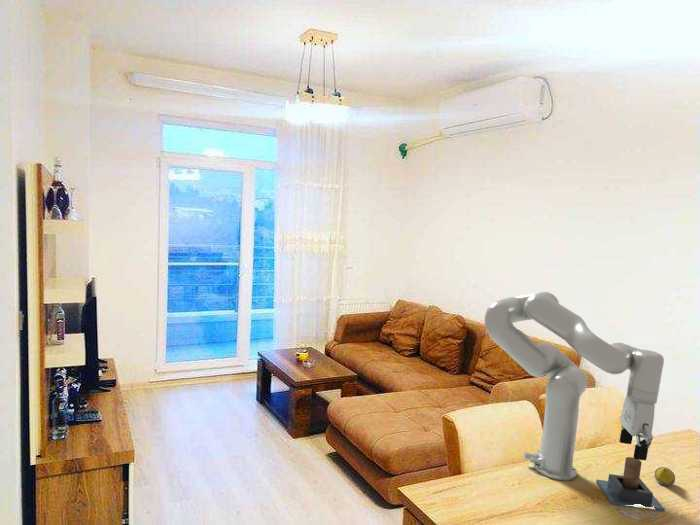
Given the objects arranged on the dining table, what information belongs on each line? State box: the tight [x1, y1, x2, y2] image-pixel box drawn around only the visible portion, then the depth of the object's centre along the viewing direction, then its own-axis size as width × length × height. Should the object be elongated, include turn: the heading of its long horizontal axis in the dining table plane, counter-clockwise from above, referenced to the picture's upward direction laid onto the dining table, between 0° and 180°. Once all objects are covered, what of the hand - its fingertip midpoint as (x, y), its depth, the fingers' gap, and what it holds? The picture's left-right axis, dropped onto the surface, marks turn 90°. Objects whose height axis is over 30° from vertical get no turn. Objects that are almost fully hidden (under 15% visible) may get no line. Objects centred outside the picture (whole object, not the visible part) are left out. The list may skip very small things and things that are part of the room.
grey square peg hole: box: [595, 473, 665, 512], centre depth 146 cm, size 14×12×4 cm
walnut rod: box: [622, 456, 642, 489], centre depth 146 cm, size 4×4×10 cm
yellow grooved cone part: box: [654, 466, 676, 487], centre depth 154 cm, size 5×5×10 cm
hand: (632, 450), depth 145 cm, fingers open, 9 cm apart
